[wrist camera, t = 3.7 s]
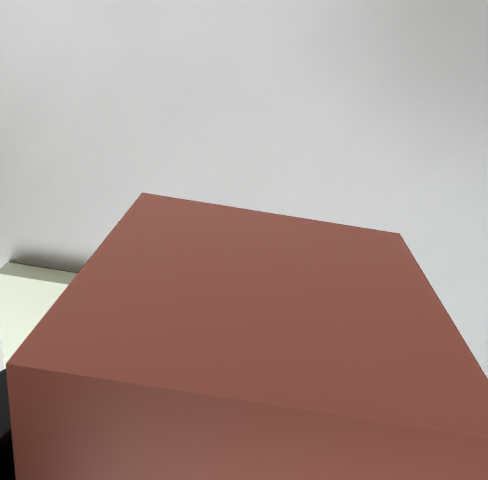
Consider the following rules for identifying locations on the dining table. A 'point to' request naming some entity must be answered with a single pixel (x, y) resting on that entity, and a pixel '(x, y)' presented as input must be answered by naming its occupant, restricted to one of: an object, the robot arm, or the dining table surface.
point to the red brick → (246, 358)
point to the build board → (26, 301)
